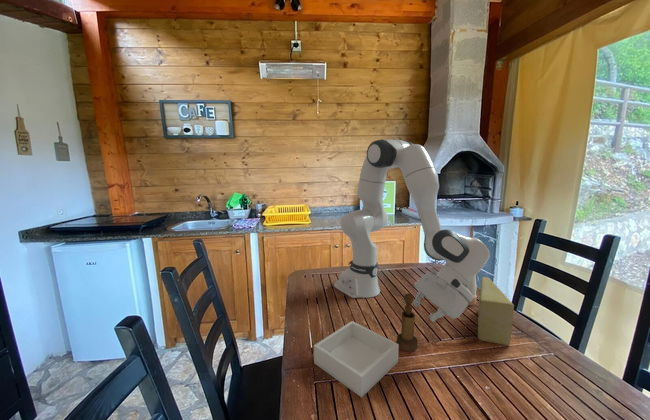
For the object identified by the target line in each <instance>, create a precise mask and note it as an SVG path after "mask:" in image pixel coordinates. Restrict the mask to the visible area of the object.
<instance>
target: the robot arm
mask: <svg viewBox="0 0 650 420" xmlns="http://www.w3.org/2000/svg"><path fill="white" fill-rule="evenodd" d="M390 169H400V171H401V173H402V177H403V180H404V183H405V185H406V187H407V188H406V189H407V190H408V192H409V194H410V196H411V198H412V199H411V200H412V201H413V203H414V205H415V207H416V211H417V213H418V217H419V220H420V223H421V226H422V230H423V233H424V234H423V235H424V241H423V249H424V252H425V254H426V255H427V256H428V257H429V258H431V259H432V260H434V261H440V262H441V261H445V264H444V265H443V267H441V269H440V270H439V271H438V272H437V271H435V270H432V271H428V272H427V273H425V274H423V275H422V276H421V277H420V278H419V279H418V280H417V281H416V282H415V283H414V288H415V289H416V290H417V293H416V295H415V297H414V300H413V302H412V304H413V305H414V306H415V307H416V308H418V307H420V305H421V304H422V303H421V300H422V299H424V298H426V299H428V301H430V302H431V303H432V304H434V306H436V307H437V310H436V312H434V313H432V312H430V314H429V315H428V317H427V318H428V319H429V320H430V321H432V323H434V322H436V321H437V319H440V318H443V317H445V316H446V315H447V316H448V317H449V318H451V319H452V320H455V319H458V318H459V317H460V316H461V315H462V314H463V313H464V312H465V310H466V309H467V308H468V306H469V305H468V301H469V302H471V301H472V300H473V299H474V296H473V295H472V293H471V292H470V291H469V289H468V288H467V285H468V284H469V282H470V280H471V278H472V277H473V276H474V275H476V276H477V275H478V274H479V273H480V271H481V270H483V268H484V266H485V265H486V263H487V262H488V260H489V259H490V256H491V252H490V250H489V248H488V246H487V244H485V242H484V241H482V240H480V239H479V238H477V237H469V236H465V235H462V234H460V233H457V232H455V231H454V230H452V229H443V228H442V225H441V222H440V219H439V216H438V213H437V209H436V201H437V196H438V193H439V190H440V183H439V181H440V180H439V177H438V174H437V170H436V168H435V164H434V163H433V161H432V159H431V157H430V155H429V153H428V151H427V150H426V149H425V147H424V146H423V145H421V144H418V143H416V144H415V143H413V142H411V141H408V140H401V139H397V138H396V139H381V138H380V139H376V140H374V141H373V140H372V142H371V143H370V144H369V145H368V147H367V150H366V156H365V158H364V160H363V164H362V166H361V169H360V174H359V179H358V186H357V191H356V194H357V197H358V198H359V199H360V200H361V201H362V202H361V203H362V206H361V207H362V208H361V209H357V210H353V211H352V210H351V211H350V212H347V213H346V214H344V215H342V217H341V219H340V228H341V230H342V232H343V233H344V235H346V236H347V237H348V238H349V241H350V243H351V247H352V248H351V249H352V260H351V261H349V262H348V263H347V265H348V266H349V267H348V268H347V269H345V270H343V271H342V272H341V273H340V274H339V277H338V279H337V280H336V281H335V282H334V284H333V288H335V289H337V290H339V291H340V292H341V293H343V294H346V295H347V296H348V297H349V298H352V299H356V298H363V299H365V298H367V299H368V298H373V297H376V296H378V295H379V294H380V293H381V290H380V286H379V280H378V272H379V271H378V270H379V263H378V246H377V245H376V243H375V242H373V241H372V239H371V235H370V234H371V233H374V232H378V231H380V230H381V229H383V228H385V227H386V226H387V225H388V224H389V223H388V222H389V215H388V213H387V211H386V210H385V208H384V203H383V202H384V201H383V199H384V191H385V185H386V179H387V175H388V171H389V170H390Z"/></svg>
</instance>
